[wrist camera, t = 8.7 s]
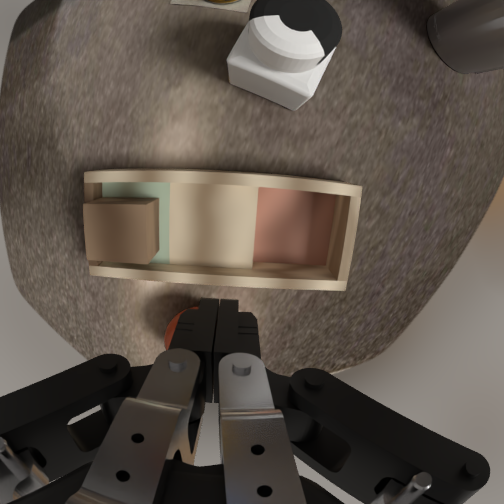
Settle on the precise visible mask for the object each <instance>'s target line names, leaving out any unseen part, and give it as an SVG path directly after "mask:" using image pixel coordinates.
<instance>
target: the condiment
mask: <svg viewBox="0 0 504 504" xmlns="http://www.w3.org/2000/svg"><path fill="white" fill-rule="evenodd" d="M250 2H251V0H171V3H170V4H181V5H196V6H204V7H211V8H219V9H226V10H233V11H238V12H246V13H247V10H248V7H249V5H250Z"/></svg>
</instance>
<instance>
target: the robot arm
mask: <svg viewBox="0 0 504 504" xmlns="http://www.w3.org/2000/svg"><path fill="white" fill-rule="evenodd" d="M427 31H428V36H429V38H430V41H431V43H432V45H433V47H434V49H435V50H436V52H437V53H438V55H439V56H440V57H441V59H442V60H443V61H444V62H445V63H446V64H447V65H448V66H449V67H451V68H452V69H453V70H455V71H457V72H459V73H463V74H469V73H473V72H475V73H477V74H479V73H483V72H488V71H493V70H498V69H503V68H504V0H458V1H456V2H454V3H452V4H450V5H449V6H447V7H445V8H443V9H442V10H440V11H438V12H437V13H435V14H433V15H432V16H430V17H429V19H428V22H427ZM213 389H214V403H219V440H220V458H221V464H218V465H211V466H201V467H199V466H194V459H195V454H196V449H197V445H198V440H199V436H200V431H201V426H202V422H203V413H204V410H205V402H209V403H212V399H213ZM98 405H100V407H101V410H99V411H97V412H95V413H93V414H91V415H89V416H87V417H85V418H83V419H81V420H79V421H77V422H75V423H73V424H71V425H67V424H68V422H69V421H70V420H71V419H72V418H73V417H76V416H78V415H80V414H82V413H84V412H86V411H88V410H90V409H92V408H94V407H96V406H98ZM293 454H294V455H295V456H297V457H298V458H299V459H300V460H302V461H303V462H304V463H306V464H307V465H308V466H309V467H311V468H312V469H314V470H315V471H316V472H318V473H319V474H321V475H322V476H323V477H325V478H326V479H328V480H329V481H330V482H332V483H333V484H335V485H336V486H338V487H339V488H341V489H342V490H344V491H345V492H347V493H348V494H350V495H351V496H353V497H355V498H356V499H358V500H359V501H361V502H362V503H364V504H463V503H464V502H465V501H467V500H468V499H469V498H470V497H471V496H473V495H474V494H475V493H476V492H477V491H479V490H480V489H481V488H482V487H483V486H484V485H485V484H486V483H487V481H488V479H489V477H490V467H489V464H488V462H487V460H486V459H485V458H484V457H483V456H482V455H481V454H479V453H477V452H475V451H473V450H471V449H469V448H466V447H464V446H462V445H460V444H458V443H456V442H453V441H452V440H450V439H447V438H445V437H443V436H441V435H439V434H437V433H435V432H433V431H431V430H429V429H427V428H425V427H423V426H422V425H420V424H418V423H416V422H414V421H412V420H410V419H408V418H406V417H404V416H402V415H401V414H399V413H397V412H395V411H393V410H391V409H390V408H388V407H386V406H384V405H382V404H381V403H379V402H377V401H375V400H374V399H372V398H370V397H368V396H367V395H365V394H363V393H361V392H360V391H358V390H356V389H354V388H353V387H351V386H349V385H348V384H346V383H344V382H343V381H341V380H339V379H338V378H336V377H334V376H333V375H331V374H329V373H328V372H326V371H323V370H320V369H316V368H305V369H301V370H298V371H297V372H295V373H294V374H293V375H292V377H287V376H283V375H279V374H276V373H273V372H271V371H270V370H268V369H267V368H266V367H265V366H264V363H263V362H262V361H261V354H260V344H259V335H258V324H257V319H256V317H255V316H254V315H253V314H252V313H251V312H238V300H233V299H221V300H220V307H219V299H215V298H201V300H200V304H199V308H198V309H187V310H185V311H184V312H183V313H182V314H180V316H179V319H178V322H177V325H176V328H175V331H174V333H173V336H172V339H171V342H170V345H169V348H168V350H166V351H164V352H162V353H161V354H159V355H158V356H157V358H156V360H155V362H154V364H151V365H147V366H137V367H130V363H129V361H128V360H127V359H126V358H125V357H123V356H121V355H117V354H104V355H100V356H97V357H95V358H93V359H91V360H88V361H86V362H84V363H81V364H79V365H77V366H75V367H72V368H70V369H68V370H65V371H63V372H61V373H58V374H56V375H53V376H51V377H49V378H46V379H44V380H42V381H39V382H37V383H34V384H32V385H29V386H27V387H25V388H22V389H20V390H17V391H14V392H12V393H9V394H7V395H5V396H2V397H0V504H344V503H343V502H341V501H340V500H339V499H337V498H336V497H335V496H333V495H332V494H331V493H329V492H328V491H326V490H325V489H324V488H322V487H321V486H320V485H318V484H317V483H315V482H313V481H312V480H309V479H307V478H305V477H303V476H299V474H298V470H297V467H296V463H295V459H294V455H293ZM60 477H61V478H60ZM58 478H59V479H58ZM56 479H57V480H56ZM53 480H55V481H53ZM51 481H53V482H51ZM49 482H51V483H49Z"/></svg>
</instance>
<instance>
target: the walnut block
mask: <svg viewBox="0 0 504 504" xmlns="http://www.w3.org/2000/svg"><path fill="white" fill-rule="evenodd" d="M83 218H84V233H85V246H86V256H87V260H95V261H108V262H121V263H135V264H148V263H149V262H150V261H151V260H152V259H153V257H154V256H155V255H156V254H157V252H158V251H159V250H160V248H159V198H131V197H102V198H99V199H96V200H93V201H90V202H87V203H84V204H83Z"/></svg>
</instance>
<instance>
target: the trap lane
mask: <svg viewBox="0 0 504 504" xmlns="http://www.w3.org/2000/svg"><path fill="white" fill-rule="evenodd" d="M361 193H362V186H359V185H355V184H351V183H347V182H341V181H333V180H325V179H317V178H308V177H299V176H289V175H278V174H267V173H254V172H239V171H222V170H199V169H104V170H96V171H88V172H84V203H87V202H90V201H93V200H96V199H99V198H102V197H131V198H159V248H160V250H159V251H158V252H157V254H156V255H155V256H154V257H153V259H152V260H151V261H150V262H149V263H148V264H135V263H121V262H108V261H95V260H88V261H89V270H90V275H94V276H104V277H115V278H126V279H137V280H149V281H161V282H174V283H188V284H203V285H219V286H237V287H256V288H278V289H304V290H340V291H345V289H346V284H347V279H348V274H349V269H350V264H351V259H352V253H353V247H354V241H355V235H356V229H357V223H358V216H359V209H360V201H361Z"/></svg>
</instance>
